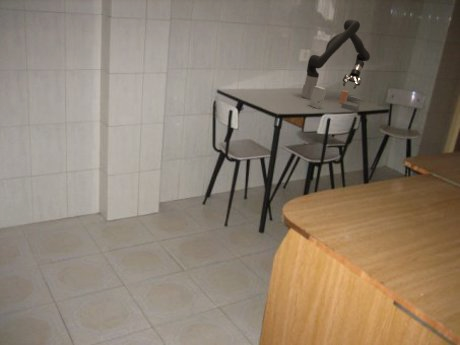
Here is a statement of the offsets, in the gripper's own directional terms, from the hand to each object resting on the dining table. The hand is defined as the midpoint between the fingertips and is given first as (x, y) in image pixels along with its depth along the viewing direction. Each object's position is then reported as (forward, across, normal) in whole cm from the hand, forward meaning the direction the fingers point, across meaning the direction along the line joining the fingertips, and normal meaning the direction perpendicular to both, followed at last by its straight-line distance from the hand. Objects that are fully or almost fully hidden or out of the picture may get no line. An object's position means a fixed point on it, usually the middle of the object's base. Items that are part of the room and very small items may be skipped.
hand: (348, 86), depth 377 cm
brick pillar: (+15, 0, +3) cm, 15 cm away
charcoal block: (+23, +9, -5) cm, 25 cm away
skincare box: (+42, -10, -24) cm, 50 cm away
